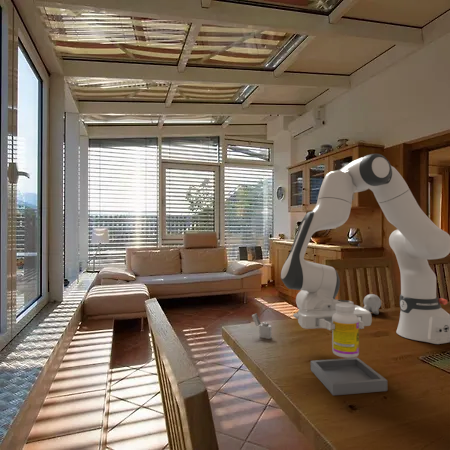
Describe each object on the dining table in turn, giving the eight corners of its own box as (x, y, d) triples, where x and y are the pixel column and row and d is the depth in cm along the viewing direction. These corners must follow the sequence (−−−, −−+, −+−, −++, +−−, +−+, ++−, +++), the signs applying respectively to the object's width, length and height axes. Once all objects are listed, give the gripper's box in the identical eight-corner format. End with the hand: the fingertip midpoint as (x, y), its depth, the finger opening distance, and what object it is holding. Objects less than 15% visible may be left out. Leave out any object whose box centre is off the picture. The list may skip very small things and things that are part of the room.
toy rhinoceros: (383, 317, 153) (385, 299, 156) (377, 313, 145) (379, 293, 147) (367, 314, 158) (369, 296, 160) (360, 310, 149) (362, 291, 151)
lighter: (271, 337, 122) (271, 315, 121) (269, 339, 120) (269, 316, 120) (253, 334, 125) (253, 312, 125) (251, 335, 124) (251, 313, 124)
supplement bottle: (361, 359, 85) (360, 308, 85) (333, 358, 86) (333, 307, 86) (356, 350, 91) (355, 302, 91) (330, 348, 93) (330, 301, 93)
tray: (357, 366, 97) (357, 357, 97) (387, 390, 83) (387, 380, 83) (310, 370, 95) (310, 360, 95) (333, 395, 81) (333, 384, 81)
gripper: (291, 303, 100) (308, 316, 86) (356, 300, 103) (383, 312, 89) (291, 324, 100) (308, 340, 86) (356, 321, 103) (383, 336, 89)
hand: (347, 326), depth 88 cm, fingers closed on supplement bottle, 6 cm apart
